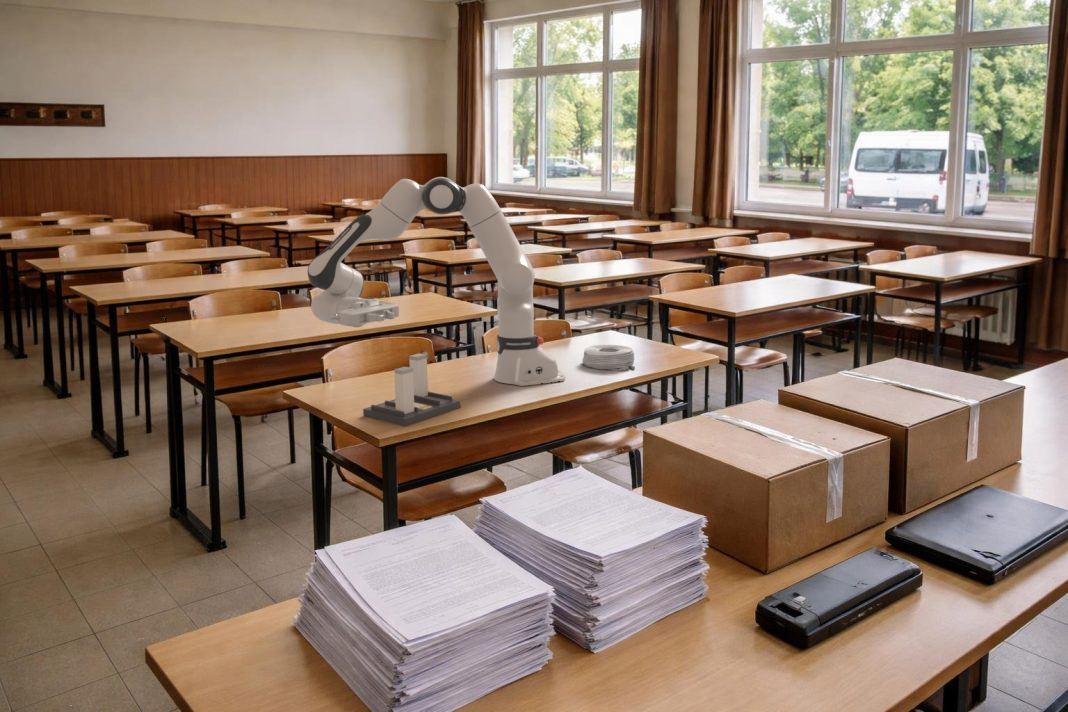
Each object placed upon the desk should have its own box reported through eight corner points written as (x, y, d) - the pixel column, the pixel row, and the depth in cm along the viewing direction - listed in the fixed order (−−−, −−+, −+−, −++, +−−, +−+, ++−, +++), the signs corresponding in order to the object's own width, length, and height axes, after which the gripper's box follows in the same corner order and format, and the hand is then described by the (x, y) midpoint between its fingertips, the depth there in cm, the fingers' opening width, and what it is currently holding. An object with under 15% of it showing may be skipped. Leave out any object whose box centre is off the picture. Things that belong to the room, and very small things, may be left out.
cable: (636, 372, 305) (636, 354, 304) (583, 371, 306) (583, 353, 304) (632, 359, 322) (632, 342, 321) (581, 359, 323) (581, 342, 321)
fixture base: (363, 415, 256) (363, 404, 255) (418, 398, 273) (418, 388, 272) (405, 426, 246) (405, 414, 246) (460, 407, 264) (460, 396, 263)
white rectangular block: (395, 412, 251) (394, 369, 248) (406, 409, 254) (404, 366, 251) (403, 414, 249) (402, 370, 246) (414, 411, 252) (413, 368, 249)
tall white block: (410, 396, 266) (409, 355, 264) (420, 393, 269) (419, 353, 267) (418, 398, 265) (417, 357, 262) (427, 395, 268) (426, 354, 265)
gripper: (326, 306, 268) (360, 311, 260) (378, 297, 284) (411, 301, 276) (327, 328, 269) (361, 333, 261) (379, 317, 285) (412, 322, 277)
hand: (387, 317), depth 269 cm, fingers open, 3 cm apart
